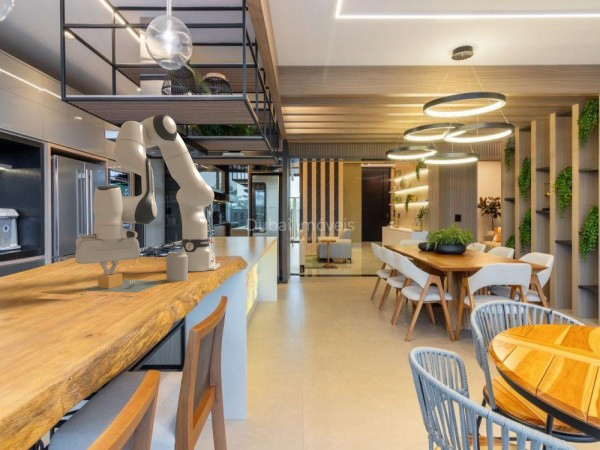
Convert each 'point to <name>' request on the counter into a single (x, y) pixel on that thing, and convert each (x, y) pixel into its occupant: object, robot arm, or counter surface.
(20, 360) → the counter surface
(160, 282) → the header board
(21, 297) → the counter surface
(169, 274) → the can
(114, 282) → the orange rectangular block
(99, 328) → the counter surface
